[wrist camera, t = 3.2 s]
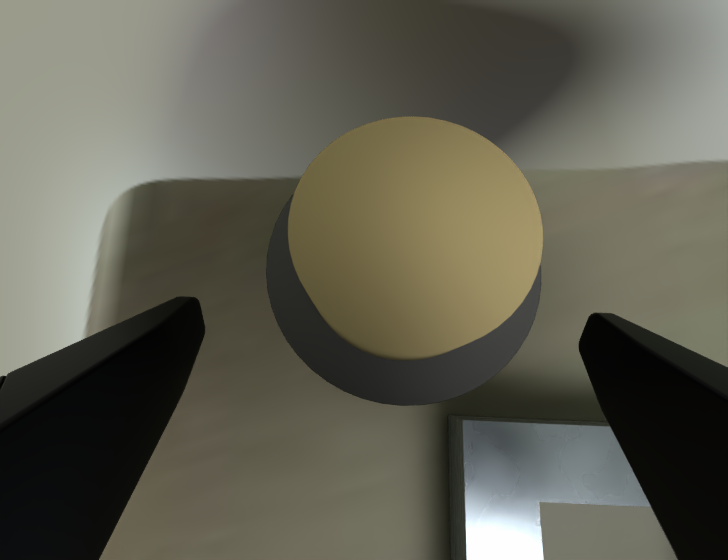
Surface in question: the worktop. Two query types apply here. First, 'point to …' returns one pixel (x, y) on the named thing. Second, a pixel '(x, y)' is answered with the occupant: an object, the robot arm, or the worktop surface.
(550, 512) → the worktop surface
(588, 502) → the housing
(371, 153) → the plug
